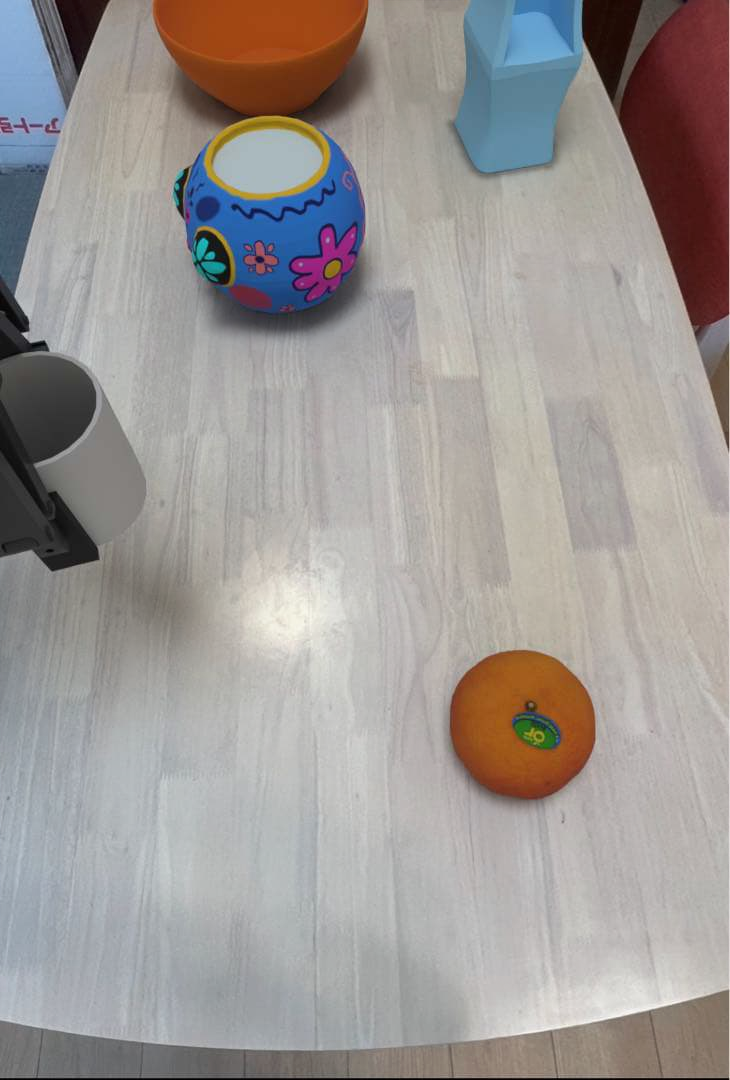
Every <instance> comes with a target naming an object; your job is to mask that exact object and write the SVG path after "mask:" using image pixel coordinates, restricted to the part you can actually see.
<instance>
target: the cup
mask: <svg viewBox="0 0 730 1080" xmlns="http://www.w3.org/2000/svg"><path fill="white" fill-rule="evenodd" d="M0 373H1V375H2V378H3V381H2V386H1V391H0V399H1V401H2V403H3V405H4V407H5V409H6V411H7V413H8V415H9V417H10V419H11V421H12V423H13V425H14V427H15V429H16V431H17V433H18V435H19V437H20V439H21V441H22V443H23V445H24V447H25V449H26V451H27V453H28V455H29V457H30V459H31V461H32V463H33V465H34V467H35V469H36V471H37V473H38V475H39V477H40V479H41V481H42V483H43V485H44V487H45V489H46V491H47V492H48V493H50V492H54V491H57V493H58V494H59V496H60V497H61V498H62V500H63V501H64V502H65V504H66V505H67V506H68V508H69V509H70V511H71V512H72V513H73V515H74V516H75V517H76V519H77V520H78V522H79V523H80V524H81V526H82V527H83V528H84V530H85V531H86V532H87V534H88V535H89V537H90V538H91V539H92V541H93V542H94V543H95V545H96V546H97V547H100V546H102V545H105V544H108V543H110V542H112V541H114V540H116V538H119V537H120V536H121V535H123V534H124V533H125V532H126V531H127V530H128V529H129V528H130V527H131V526H132V525H133V524H134V523H135V522H136V520H137V518H138V517H139V515H140V513H142V510H143V508H144V506H145V505H144V504H145V501H146V499H147V498H146V497H147V481H146V477H145V475H144V473H143V472H144V471H143V469H142V467H141V463H140V461H139V459H138V457H137V455H136V454H135V450H134V449H133V447H132V445H131V443H130V441H129V439H128V437H127V434H126V433H125V431H124V429H123V427H122V425H121V423H120V421H119V419H118V417H117V415H116V413H115V411H114V409H113V407H112V405H111V402H110V401H109V399H108V397H107V395H106V393H105V391H104V389H103V387H102V385H101V383H100V382H99V381H100V380H99V379H98V377H97V376H96V375H95V374H94V372H93V371H92V370H91V369H90V367H89V366H88V365H86V364H85V363H83V362H82V361H80V360H79V359H78V358H76V357H74V356H70V355H67V354H64V353H61V352H57V351H56V352H55V351H50V352H46V351H37V352H28V353H21V354H18V355H15V356H12V357H9V358H5V359H3V360H1V361H0Z"/></svg>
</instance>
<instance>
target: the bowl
mask: <svg viewBox="0 0 730 1080" xmlns="http://www.w3.org/2000/svg"><path fill="white" fill-rule="evenodd" d="M368 13H369V0H153V2H152V17H153V21H154V24H155V28H156V30H157V33H158V35H159V38H160V39H161V41H162V44H163V46H164V47H165V49H166V51H167V52H168V53H169V55H170V57H171V58H172V59H173V61H174V62H175V63H176V64H177V66H178V67H179V69H181V70H182V71H183V72H184V74H186V75H187V76H188V77H189V78H190V80H191V81H192V82H194V83H195V84H196V85H197V86H199V88H201V89H202V90H203V91H205V92H206V93H208V94H209V95H211V96H212V97H213V98H215V99H217V100H219V101H220V102H222V103H223V104H225V105H226V106H227V107H229V108H230V109H232V110H234V111H236V112H238V113H240V114H242V115H243V114H244V115H247V116H250V117H260V116H283V117H285V116H288V115H291V114H295V113H298V112H300V111H302V110H304V109H306V108H309V106H311V105H312V104H313V103H314V102H316V101H317V100H318V99H319V98H320V96H322V94H323V93H324V92H325V91H326V90H327V89H328V88H329V87H330V86H331V85H332V84H333V83H334V82H335V81H337V79H338V78H339V76H340V75H341V74H342V72H343V71H345V69H346V67H347V66H348V65H349V62H350V61H351V59H352V58H353V56H354V54H355V52H356V51H357V49H358V47H359V45H360V42H361V39H362V36H363V34H364V31H365V27H366V23H367V19H368Z"/></svg>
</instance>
